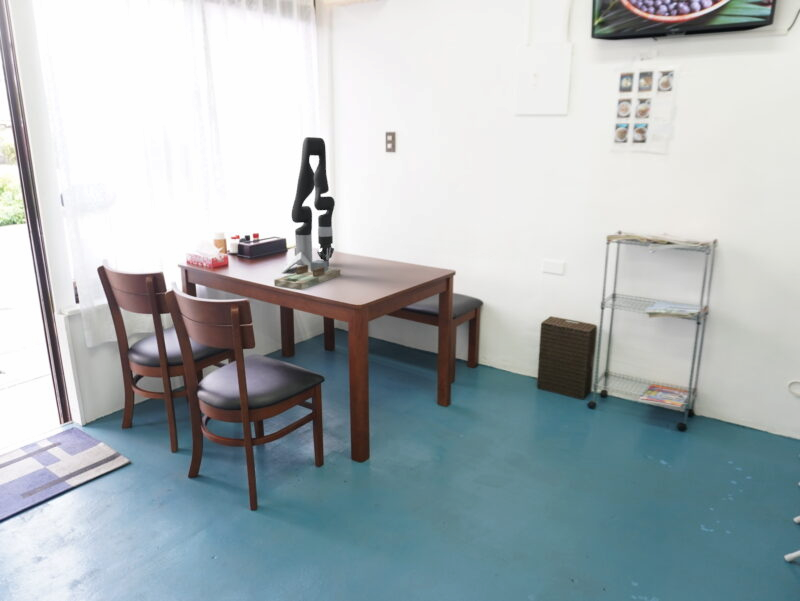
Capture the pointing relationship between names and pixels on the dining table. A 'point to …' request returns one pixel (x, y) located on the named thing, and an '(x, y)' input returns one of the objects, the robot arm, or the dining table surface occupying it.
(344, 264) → the dining table surface
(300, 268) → the tunnel deck
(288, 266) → the bracket
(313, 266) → the grey block
